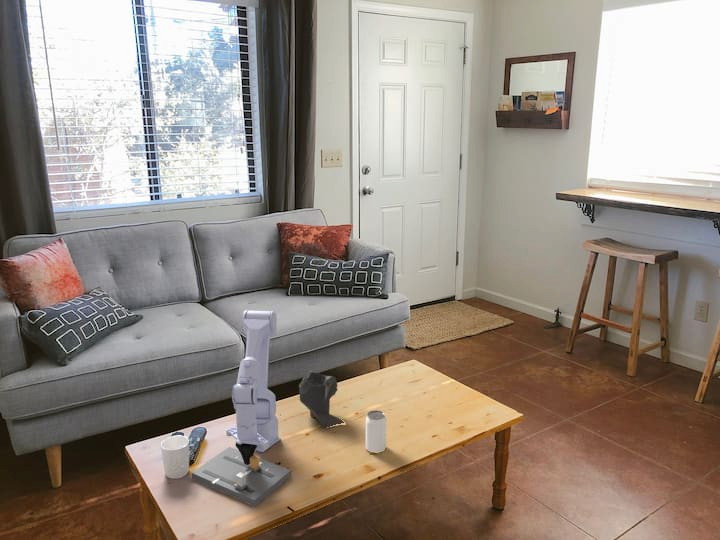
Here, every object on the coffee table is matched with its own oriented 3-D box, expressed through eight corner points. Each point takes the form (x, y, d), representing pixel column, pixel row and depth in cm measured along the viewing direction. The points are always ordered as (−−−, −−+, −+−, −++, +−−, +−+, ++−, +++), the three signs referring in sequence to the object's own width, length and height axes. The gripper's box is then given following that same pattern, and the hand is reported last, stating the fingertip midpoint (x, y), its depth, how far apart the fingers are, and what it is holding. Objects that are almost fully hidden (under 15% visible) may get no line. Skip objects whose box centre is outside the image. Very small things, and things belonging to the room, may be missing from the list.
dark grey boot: (332, 404, 217) (332, 359, 212) (347, 424, 203) (347, 376, 198) (295, 411, 211) (294, 364, 207) (307, 432, 198) (306, 383, 193)
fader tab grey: (240, 481, 167) (240, 470, 167) (248, 484, 166) (248, 473, 165) (233, 486, 165) (233, 475, 164) (242, 490, 164) (241, 479, 163)
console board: (229, 452, 186) (229, 446, 185) (290, 476, 174) (290, 470, 173) (190, 479, 172) (190, 473, 172) (253, 507, 160) (253, 500, 160)
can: (387, 444, 191) (388, 411, 188) (383, 455, 185) (383, 421, 182) (368, 441, 192) (368, 408, 189) (363, 452, 186) (363, 418, 183)
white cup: (180, 461, 181) (178, 432, 178) (196, 471, 176) (194, 441, 173) (158, 473, 175) (155, 443, 172) (173, 483, 170) (170, 453, 167)
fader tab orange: (254, 464, 176) (253, 453, 175) (261, 467, 174) (261, 456, 173) (247, 468, 173) (247, 458, 172) (255, 471, 172) (255, 461, 171)
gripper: (218, 421, 171) (220, 462, 175) (256, 435, 164) (258, 477, 168) (234, 410, 177) (236, 450, 181) (272, 424, 170) (274, 465, 174)
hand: (248, 463), depth 175 cm, fingers closed
